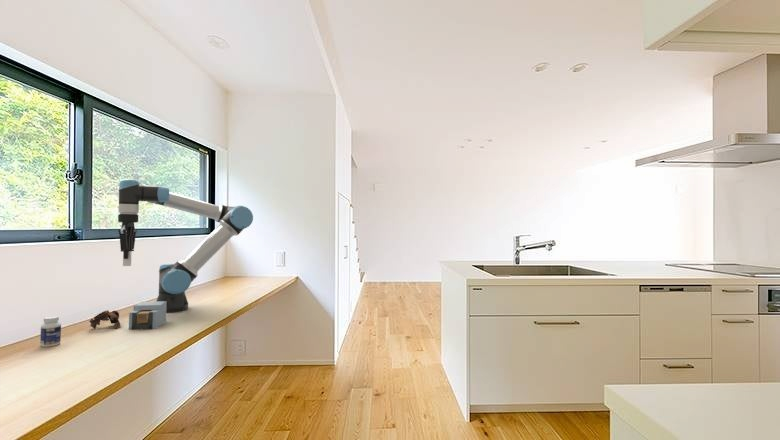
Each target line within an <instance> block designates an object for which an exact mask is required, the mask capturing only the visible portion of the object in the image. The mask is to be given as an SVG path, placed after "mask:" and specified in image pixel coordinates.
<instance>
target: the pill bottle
mask: <svg viewBox="0 0 780 440" xmlns="http://www.w3.org/2000/svg"><path fill="white" fill-rule="evenodd" d="M59 317H60V316H58V315H53V316H46V317H43V323H42V325H40V338H39V339H40V341H39V342H40V343H39V345H40V347H43V348H44V347H45V348H47V347H54V346H57V345H59V344H61V340H62V339H61V337H62V336H61V335H62V323H61V322H60V318H59Z"/></svg>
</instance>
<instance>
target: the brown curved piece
mask: <svg viewBox="0 0 780 440" xmlns="http://www.w3.org/2000/svg"><path fill="white" fill-rule="evenodd" d="M119 318H120V312H119V311H117V310H112V311H109V309H108V310H104V311H102V312H100V313H98V314H96V315H95V316H93V318H91V319H89V324H90V326H89V327H92V328H93V329H96V327H97V325H98V326H100V325H101V321H104V322H105V321H107V322H108V321H110V324H113V326H114V328H115V329H116V330H117V329H118V328H120V327H121V322H120V320H119Z"/></svg>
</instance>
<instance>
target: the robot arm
mask: <svg viewBox="0 0 780 440" xmlns="http://www.w3.org/2000/svg"><path fill="white" fill-rule="evenodd" d="M118 187H119V188H118V206H117V209H118V213H119V214H118V215H117V217H118V218H117V222H118V223H121V227H120V228H121V229H120V228H119V229H118V230H117V231H118V235H119V245H120V247H119V248H120V252H121V253H122V266H123V267H131V266H132V254H133V253H132V252H134V251H135V242H136V238H137V237H136V236H137V235H136V234H137V232H138V228H135V223H138V222H139V215H138V214H139V213H140V211H139V210H140V209H139V208H140V207H139V206H140V204H139V203H140V202H148V203H150V204H155V205H159V206H163V207H168V208H171V209H175V210H179V211H181V212H186V213H189V214H192V215H196V216H197V215H198V216H201V217H205V218H209V219H212V220H215V222H217V223H219V224H218V225H217V226H216V228H215V229H213V231H212V232H210V233H209V235H207V236H206V238H204V239H203V240H202V241H201V242H200V243H199V244H198V245H197V246H196V247H195V248H194V249H193V250H192V251H191V252H190V253H188V255H187V256H186V257H185V258H184V259H182V260H176V261H175V263H168V264H161V265H160V266H159V270H158V272H159V273H158V275H159V276H158V296H157V298H156V301H167V307H166V313H176V312H180V311H181V312H182V311H186V310H188V309H189V300H188V298H187V296H186V292H187V290H188V289H189V288H190V287H191V284H192V282H193V281H195V279H197V277H198V271H200V269H201V268H202V267H204V266H205V265H206V263H208V262H209V261H210V259H212V258H213V256H215V254H217V252H218V251H219V250H221V248H223V247H224V245H225V244H226V243H227V242H229V240H230V239H231V238H232V237H233V236H239V234H241V233H242V232H243V230H244V229H247V228H248V227H251V225H252V223H253V221H254V215H253V213H252V211H251V209H249V207H246V206H244V205H237V206H229V205H224V204H220V205H216V204H212V203H210V202H206V201H203V200H200V199H195V198H192V197H188V196H186V195H185V196H184V195H182V194H178V193H174V192H170V188H169V187H168V186H164V185H163V186H162V185H144V184H140V180H138V179H131V178H130V179H127V178H126V179H124V178H123V179H121V180H119V184H118ZM156 301H155V302H156Z"/></svg>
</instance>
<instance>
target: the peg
mask: <svg viewBox="0 0 780 440" xmlns="http://www.w3.org/2000/svg"><path fill="white" fill-rule="evenodd" d="M151 311H152V310H143V311H141V312H139V313H138V314H137V323H149V312H151Z"/></svg>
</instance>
